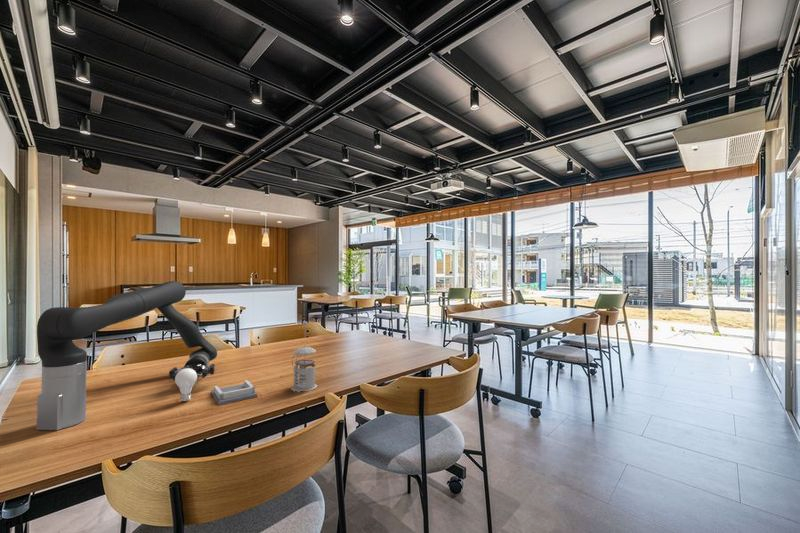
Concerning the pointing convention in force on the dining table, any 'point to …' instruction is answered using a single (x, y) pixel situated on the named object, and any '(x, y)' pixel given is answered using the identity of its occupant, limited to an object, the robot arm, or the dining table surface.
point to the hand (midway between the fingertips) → (189, 376)
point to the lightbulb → (186, 382)
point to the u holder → (234, 393)
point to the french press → (304, 370)
